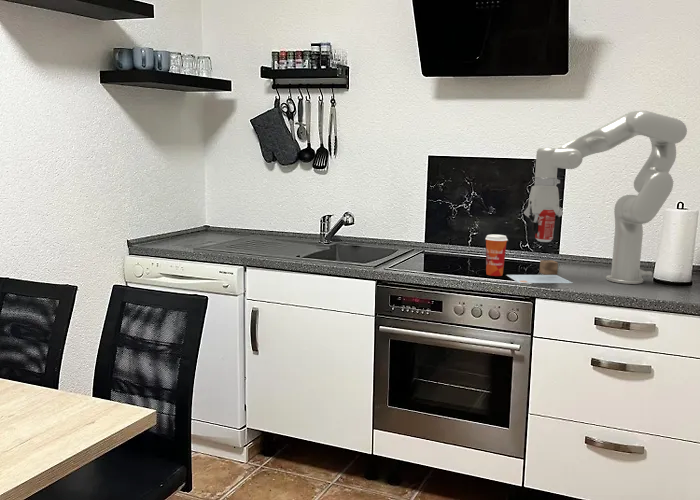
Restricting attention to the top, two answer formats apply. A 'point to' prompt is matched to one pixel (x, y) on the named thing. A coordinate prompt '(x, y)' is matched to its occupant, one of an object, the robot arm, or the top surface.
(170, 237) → the top surface
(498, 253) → the coffee cup
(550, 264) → the walnut block
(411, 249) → the top surface
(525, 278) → the envelope
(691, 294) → the top surface
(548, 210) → the beverage can
